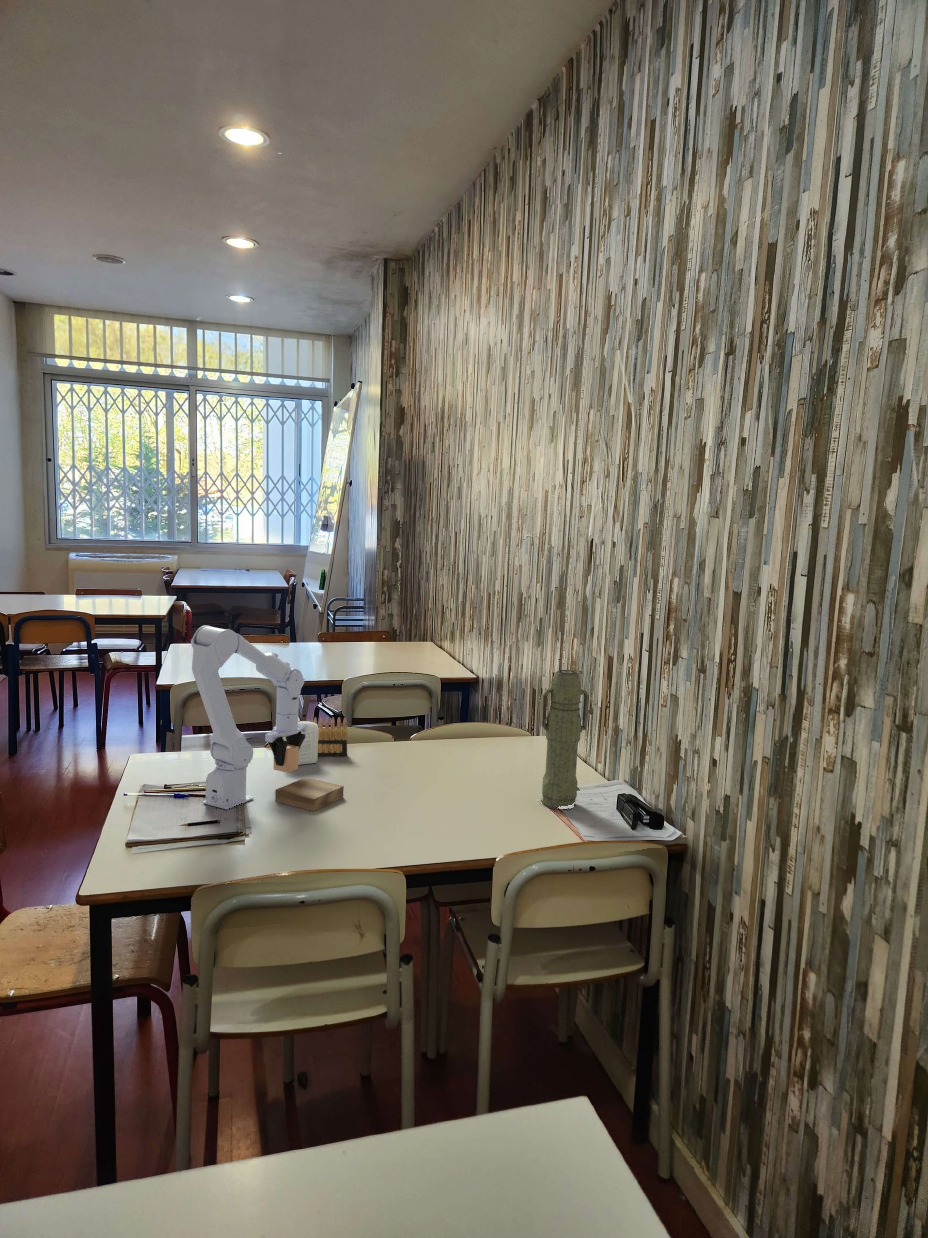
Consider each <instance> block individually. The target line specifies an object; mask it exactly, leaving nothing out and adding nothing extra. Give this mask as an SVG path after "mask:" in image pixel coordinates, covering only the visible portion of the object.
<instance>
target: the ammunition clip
mask: <svg viewBox="0 0 928 1238" xmlns="http://www.w3.org/2000/svg"><path fill="white" fill-rule="evenodd" d="M323 720H324V719H323V717H322V716H320V718H319V722H318V720H317V717H316V716H315V717H314V718H313V721H312V722H314V723H316V724H317V725H318V730H319V731H318V757H317V758H323V757H325V758H327V757H328V758H329V757H330V758H332V757H333V758H335V757H337V758H339V757H340V758H342V757H343V758H345V757H346V758H347V757H348V726H347V725H348V723H347V721H348V720H347V717H346V716H344V718H343V722H342V721H341V720H342V719H341V717H340V716H339V717H338V718H337V722H336V721H335V717H334V716H332V718H331V721H330V720H329V717H328V716H326V717H325V721H323Z"/></svg>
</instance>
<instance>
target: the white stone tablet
mask: <svg viewBox="0 0 928 1238" xmlns="http://www.w3.org/2000/svg"><path fill="white" fill-rule="evenodd" d="M300 723H304V724H307V731H306V732H301V734H305V739H304V741H303V742H302V744H301V747H300V749H299V755H298V766H301V765H309V764H316V763H317V762H318V758H319V757H318V731H319V724H318V723H317V724H316V723H314V722H313V721H309V720H307V721H306V720H302V721H298V724H300ZM283 739H284V741H286V737H283Z"/></svg>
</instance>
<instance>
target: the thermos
mask: <svg viewBox="0 0 928 1238" xmlns="http://www.w3.org/2000/svg"><path fill="white" fill-rule="evenodd" d="M549 694H550V702H551V703H550V705H549V711H548V712H547V710H548V708H547V707H548V695H549ZM541 695H542V696H541V697H542V699H541V716H540V717H541V718H540V726H541V727H542V728H543V729H544V730H545V732H546V733H545V739H546V741H547V742H546V743H547V745H546V758H545V759H546V760H545V772H544V775H543V777H542V787H541V794H542V799H541V804H542V805H543V806H544V807H545V808H548V809H551V810H556V809H557V807H559V806H560V807H561V806H568V805H572V804H573V803H574V802H575V803H576V798H577V794H578V780H577V776H576V775H577V763H578V750H579V749H578V748H579V742H580V740H581V734H582V733H583V731H586V730H587V725H588V717H589V701H590V695H589V694H588V692H587V691H586V690H585V689H582V681H581V677H580V673H579V672H577V671H575V670H570V669H560V670H559V669H558V670H557V671H555V672H554V675H553V677H552V680H551V687H550V688H547V689H545V690H544V691H543V693H542V694H541ZM581 695H583V703H582V704H583V705H582V707H583V709H582V717H581V714H580V711H581V708H580V703H581V698H582V697H581Z"/></svg>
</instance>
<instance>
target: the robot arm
mask: <svg viewBox="0 0 928 1238" xmlns="http://www.w3.org/2000/svg"><path fill="white" fill-rule="evenodd" d="M190 643H191V646H192V649H193V651H192V660H191V662H192V664H191V671H192V675H193V677H194V680H195V682H196V686H197V689H198V692H199V694H200V698H201V701H202V703H203V707H204V709H205V712H206V715H207V717H208V718H207V719H208V721H209V724H210V727H211V730H212V734H211V735H210V736H209V738H208V740H209V742H210V750H209V752H210V756H211V758H213V760H214V764H215V767H214V769H213V770H212V771H211V772H209V773H207V776H206V777H205V779H206V780H205V800H204V801H202V803H203V804H204V805H209V806H212V807H217V808H220V809H223V810H229V808H230V809H232V808H235V807H237V806H239V804H240V805H242V804H244V803H247V802H249V801H252V800H254V798H255V797H254V796H251V795H247V768H249V767H248V766H249V765H250V763H251V761H252V760H253V756H254V749H253V747H252V745H251V744H250V743H249V742H248V741H247V739H246V737H245V735H244V734H243V733H242V732H241V731H240V729H238V728H237V725H236V722H235V720H234V715H233V712H232V710H231V707H230V704H229V701H228V698H227V694H226V692H225V689H224V685H223V683H222V680H221V676H220V672H219V670H220V669H221V668H222V667H223V666H224V665H225V663H226V662H227V661H228V660H229V659H230V658H231V657H232V655H234V654H238V655H239V656H240V657H243V658H244V659H246V660H247V661H249V662H251V663H253V664H254V665H255V670H256V672H258V673H259V674H261V675H262V676H264V677H265V678H266V679H269V681H271V683H272V685H273V687H276V708H275V709H276V710H275V711H276V712H275V713H276V714H275V726H273V727H272V728H273V729H272V730H271V731H270V732H267V733H265V734H264V735H265V736H264V737H265V739H264V741H265V742H267V744H268V745H269V747H270V749H271V751H272V755H273V760H274V759H275V763H276V765H279V766H283V765H284V760H285V752H286V748H287V745H288V744H289V745H294V746H299V749H300V747H301V744H302V742H303V741H304V739H305V734H301V732H306V731H307V724H304V723H300V724H298V722H299V706H300V696H301V693H302V691H301V690H302V687H303V686H304V684H305V678H304V676H303V673H302V672H301V671H300V670H299V668H294V667H291V663H289V662H287V661H283V660H282V659H280V657H279V654H277V653H275V652H262V651H261V650H260V649H258V648H257V647H256V646H254V645H253V643H251V642H249V641H248V640H247V639H246V638H244V637H243V636H242V635H241V634H240V633H236V632H235V631H234V630H232V629H229V628H227V629H225V628H219V627H215V626H211V625H202V626H200V627H199V628H197V630H195V633H194V634H193V637H192V638H191V640H190ZM284 737H286V741H284ZM241 803H242V804H241ZM236 805H237V806H236ZM234 806H235V807H234Z"/></svg>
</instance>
